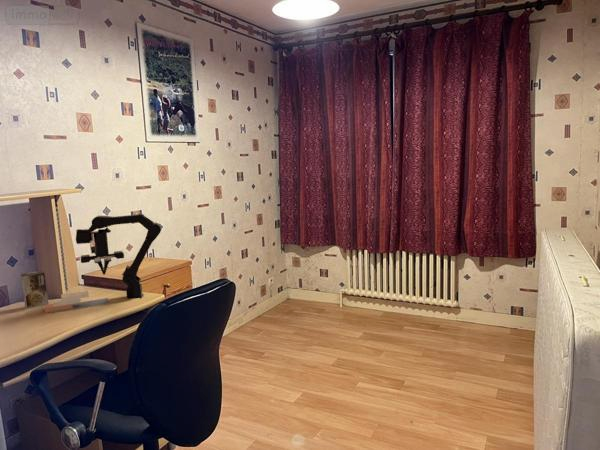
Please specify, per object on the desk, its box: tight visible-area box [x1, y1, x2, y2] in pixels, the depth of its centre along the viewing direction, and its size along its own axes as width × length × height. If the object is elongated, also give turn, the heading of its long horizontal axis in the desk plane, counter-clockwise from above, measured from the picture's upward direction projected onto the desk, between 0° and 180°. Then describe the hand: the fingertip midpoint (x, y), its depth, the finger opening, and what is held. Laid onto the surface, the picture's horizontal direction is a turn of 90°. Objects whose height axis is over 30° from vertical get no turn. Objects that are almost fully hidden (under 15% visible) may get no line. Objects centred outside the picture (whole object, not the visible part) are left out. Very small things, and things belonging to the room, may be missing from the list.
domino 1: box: [44, 303, 73, 313], centre depth 202 cm, size 2×5×11 cm
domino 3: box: [61, 290, 90, 301], centre depth 205 cm, size 2×5×11 cm
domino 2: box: [52, 297, 82, 307], centre depth 204 cm, size 2×5×11 cm
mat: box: [51, 297, 111, 314], centre depth 207 cm, size 24×11×1 cm, turn 119°
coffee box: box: [20, 270, 50, 310], centre depth 208 cm, size 9×6×16 cm
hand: (104, 274), depth 213 cm, fingers closed
